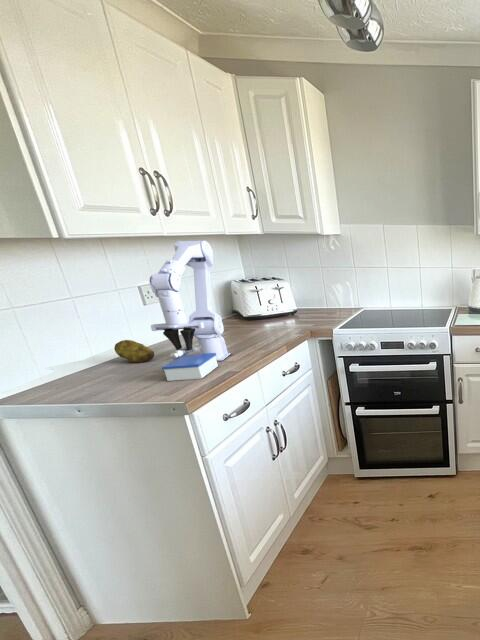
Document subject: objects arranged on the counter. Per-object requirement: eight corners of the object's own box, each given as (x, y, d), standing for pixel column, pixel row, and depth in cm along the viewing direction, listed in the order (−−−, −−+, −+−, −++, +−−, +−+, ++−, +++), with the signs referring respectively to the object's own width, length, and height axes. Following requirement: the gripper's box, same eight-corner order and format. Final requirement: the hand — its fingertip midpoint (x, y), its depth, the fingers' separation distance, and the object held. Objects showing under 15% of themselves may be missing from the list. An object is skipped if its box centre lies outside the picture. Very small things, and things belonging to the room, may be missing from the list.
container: (186, 368, 150) (182, 355, 148) (219, 365, 153) (215, 352, 151) (165, 381, 137) (161, 367, 135) (202, 378, 139) (198, 364, 138)
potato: (133, 366, 153) (125, 345, 150) (115, 361, 158) (108, 341, 155) (158, 360, 160) (152, 340, 157) (141, 356, 165) (134, 336, 162)
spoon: (188, 348, 149) (186, 341, 148) (203, 347, 150) (201, 340, 149) (165, 361, 134) (163, 353, 133) (182, 360, 135) (180, 352, 135)
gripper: (140, 313, 132) (153, 354, 137) (192, 311, 135) (203, 351, 140) (152, 310, 138) (164, 349, 143) (202, 307, 142) (212, 346, 146)
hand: (184, 350), depth 142 cm, fingers closed on spoon, 2 cm apart
